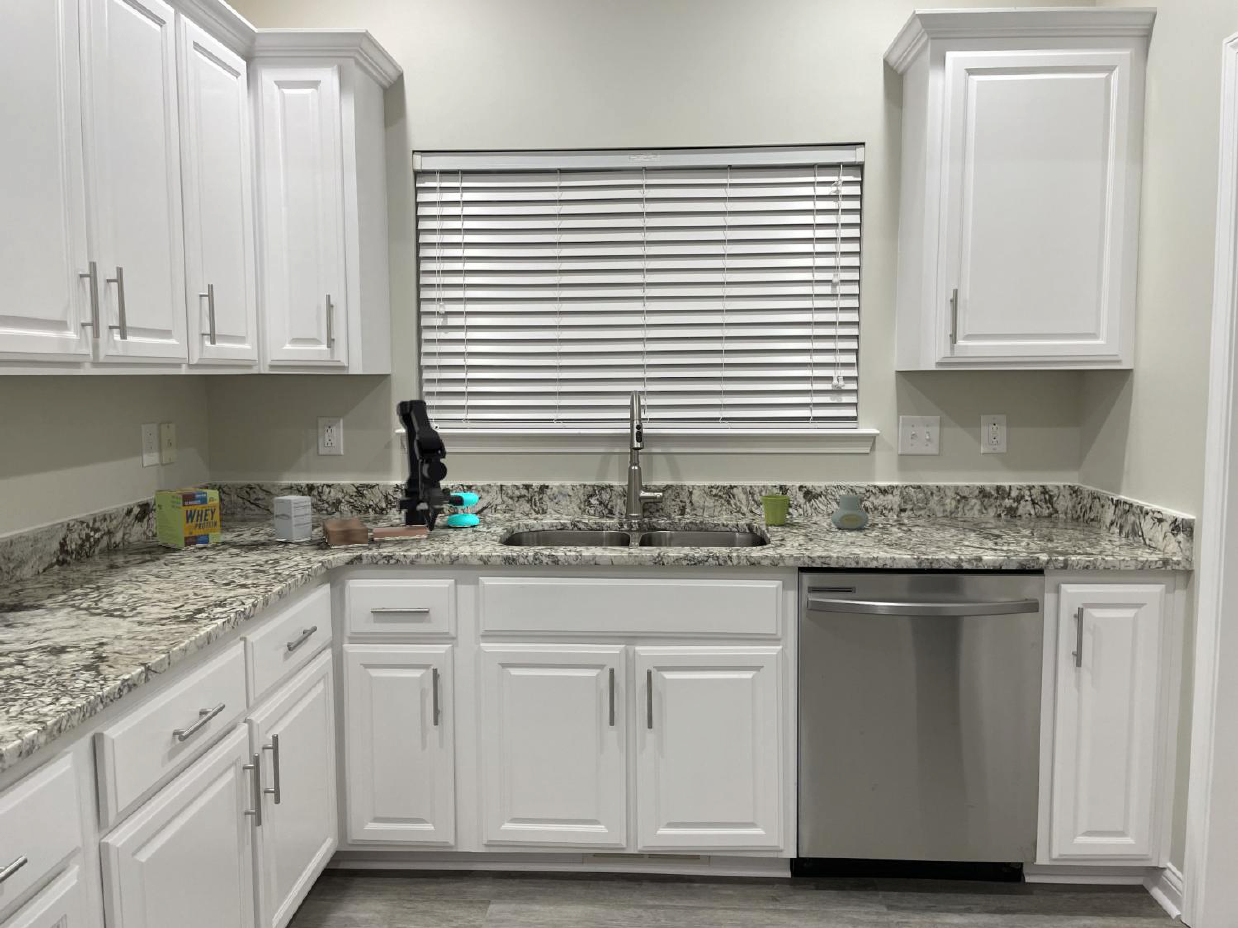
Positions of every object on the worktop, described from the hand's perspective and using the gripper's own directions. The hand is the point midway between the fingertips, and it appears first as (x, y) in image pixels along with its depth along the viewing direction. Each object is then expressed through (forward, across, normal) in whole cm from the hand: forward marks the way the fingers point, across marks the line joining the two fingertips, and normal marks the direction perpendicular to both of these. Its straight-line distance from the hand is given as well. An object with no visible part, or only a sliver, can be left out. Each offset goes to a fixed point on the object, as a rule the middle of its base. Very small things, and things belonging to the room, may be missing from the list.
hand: (430, 531), depth 262 cm
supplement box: (+1, -37, +10) cm, 38 cm away
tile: (+2, -9, 0) cm, 9 cm away
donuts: (+2, +13, +13) cm, 18 cm away
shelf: (+1, -24, 0) cm, 24 cm away
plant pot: (+2, +100, -29) cm, 105 cm away
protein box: (+1, -64, +15) cm, 66 cm away
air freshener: (+2, +115, -46) cm, 124 cm away
